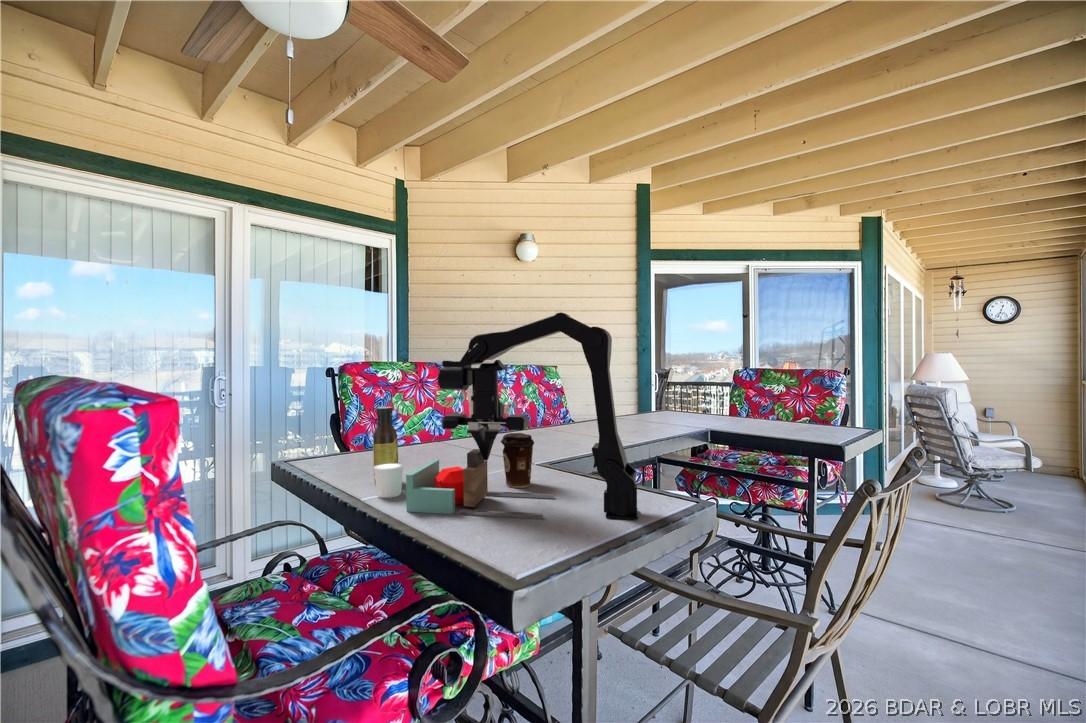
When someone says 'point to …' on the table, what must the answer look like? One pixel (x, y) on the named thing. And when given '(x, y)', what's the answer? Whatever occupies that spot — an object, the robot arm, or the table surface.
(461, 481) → the ball
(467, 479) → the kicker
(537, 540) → the table surface
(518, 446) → the coffee cup
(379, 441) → the sauce bottle
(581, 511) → the table surface
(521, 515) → the track
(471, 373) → the robot arm
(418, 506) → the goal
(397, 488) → the white cup
